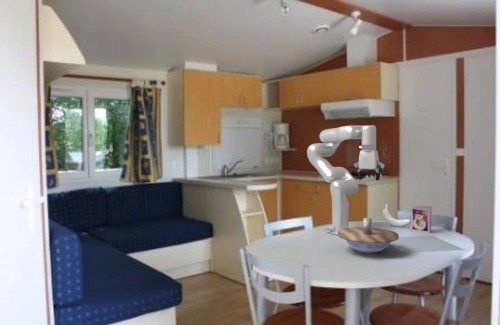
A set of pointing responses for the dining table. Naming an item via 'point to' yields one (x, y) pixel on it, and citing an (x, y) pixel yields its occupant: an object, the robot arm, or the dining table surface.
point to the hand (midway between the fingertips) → (369, 179)
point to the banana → (394, 221)
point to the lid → (368, 234)
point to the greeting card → (421, 218)
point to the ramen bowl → (368, 246)
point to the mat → (423, 244)
